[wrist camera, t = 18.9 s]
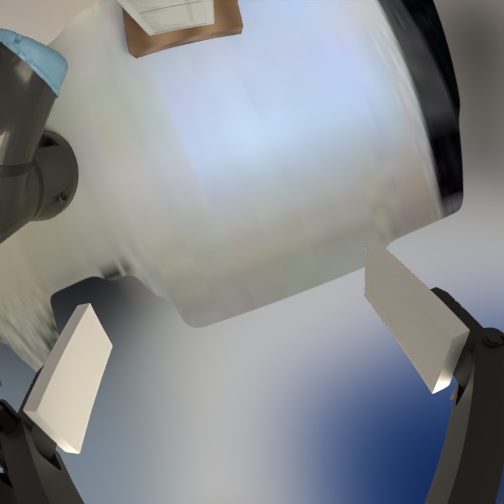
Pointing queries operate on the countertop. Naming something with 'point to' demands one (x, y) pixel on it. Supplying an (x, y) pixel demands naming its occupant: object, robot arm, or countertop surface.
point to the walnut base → (184, 30)
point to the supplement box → (169, 14)
